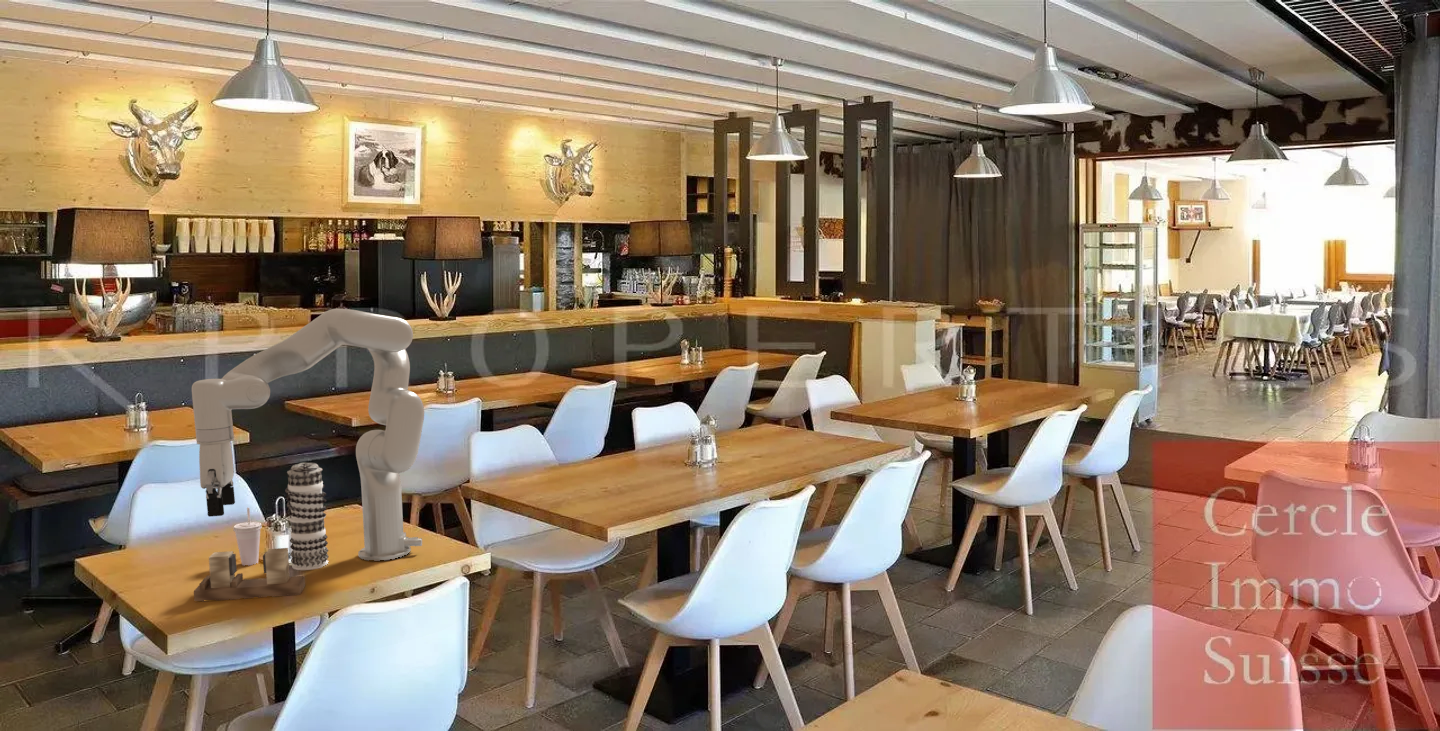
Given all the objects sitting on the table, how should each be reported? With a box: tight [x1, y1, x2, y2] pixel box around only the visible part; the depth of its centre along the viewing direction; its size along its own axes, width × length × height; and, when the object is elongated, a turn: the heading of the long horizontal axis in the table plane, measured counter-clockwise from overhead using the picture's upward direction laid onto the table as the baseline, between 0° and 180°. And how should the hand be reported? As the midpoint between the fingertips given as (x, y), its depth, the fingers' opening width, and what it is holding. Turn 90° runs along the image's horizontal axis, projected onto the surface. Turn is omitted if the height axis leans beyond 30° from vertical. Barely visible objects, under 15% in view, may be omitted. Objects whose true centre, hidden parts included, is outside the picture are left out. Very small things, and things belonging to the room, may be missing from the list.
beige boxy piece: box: [208, 550, 238, 588], centre depth 237 cm, size 5×4×7 cm
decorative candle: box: [284, 462, 329, 571], centre depth 258 cm, size 9×9×25 cm
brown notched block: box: [193, 547, 306, 602], centre depth 238 cm, size 22×6×10 cm, turn 101°
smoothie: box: [232, 507, 263, 566], centre depth 261 cm, size 6×6×14 cm
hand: (221, 510), depth 237 cm, fingers open, 9 cm apart
